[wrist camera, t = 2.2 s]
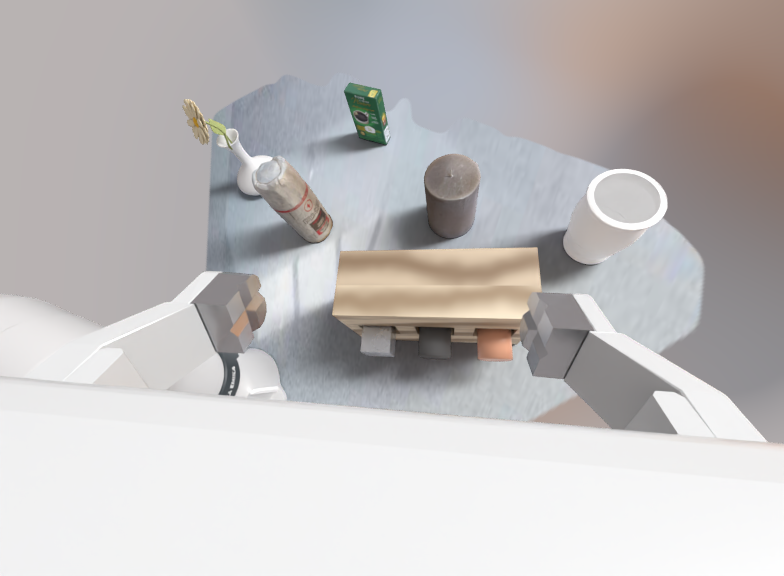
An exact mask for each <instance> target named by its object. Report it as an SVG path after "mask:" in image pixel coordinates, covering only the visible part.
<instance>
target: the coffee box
mask: <svg viewBox="0 0 784 576" xmlns="http://www.w3.org/2000/svg"><path fill="white" fill-rule="evenodd" d="M344 93H345V96H346V99H347V102H348V105H349V108H350V111H351V114H352V117H353V120H354V123H355V126H356V129H357V132H358V136H359V138H362V139H365V140H370V141H374V142H377V143H380V144H385V145H387V143H388V141H389V139H390V133H389V127H388V123H387V118H386V112H385V108H384V102H383V97H382V93H381V90H380V89H376V88H371V87H367V86H363V85H358V84H354V83H349V84H348V85H347V87H346V89H345V90H344Z"/></svg>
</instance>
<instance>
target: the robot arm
mask: <svg viewBox="0 0 784 576" xmlns="http://www.w3.org/2000/svg"><path fill="white" fill-rule="evenodd" d="M260 287H261V284H260V281H259V278H258V277H257V276H256V275H254V274H243V273H231V272H218V271H205V272H202V273H201V274H200V275H199V276H198V277H197V278H196V279H195V280H194V281H193V282H192V283H191V284H190V285H189V286H188V287H187V288H186V289H184V290H183V292H181V293H180V294H179V295H178V296H177V297H176V298H175V299H174V300H173V301H172V302H165V303H162V304H160V305H158V306H155V307H153V308H150V309H148V310H145V311H143V312H141V313H138V314H136V315H133V316H131V317H129V318H126V319H124V320H121V321H119V322H116V323H114V324H112V325H109V326H107V327H104V326H102V325H100V324H97V323H95V322H93V321H90V320H88V319H85V318H82V317H79V316H77V315H75V314H73V313H71V312H69V311H66V310H64V309H62V308H60V307H57V306H56V305H53V304H51V303H49V302H46V301H43V300H40V299H35V298H30V297H24V296H18V295H9V294H0V576H784V444H782V443H770V442H767V441H766V440H765V439H764V438H763V436H762V435H761V434H760V433H759V432H758V431H757V430H756V429H755V427H754V426H753V425H752V424H751V423H750V422H749V421H748V420H747V418H746V417H745V416H744V415H743V414H742V413H741V412H740V410H739V409H738V408H737V407H736V406H735V405H734V404H733V402H732V401H731V400H730V399H729V398H728V397H727V396H726V395H725V394H723V393H722V392H720V391H718V390H717V389H715V388H713V387H712V386H710V385H708V384H706V383H705V382H703V381H701V380H700V379H698V378H696V377H695V376H693V375H691V374H690V373H688V372H686V371H685V370H683V369H681V368H680V367H678V366H676V365H675V364H673V363H671V362H670V361H668V360H666V359H665V358H663V357H661V356H660V355H658V354H656V353H655V352H653V351H651V350H650V349H648V348H646V347H645V346H643V345H641V344H640V343H638V342H636V341H635V340H633V339H631V338H630V337H628V336H626V335H625V334H623V333H616V331H615V330H614V328H613V327H612V325H611V324H610V322H609V321H608V320H607V318H606V317H605V315H604V314H603V312H602V311H601V310H600V308H599V307H598V305H597V304H596V302H595V301H594V300H593V298H592V297H591V296H590V295H588V294H561V293H541V292H532V293H531V295H530V296H529V298H528V301H527V305H528V308H529V311H528V312H526V313H525V314H524V315H523V316H522V320H521V323H520V339H521V342H522V346H523V347H524V348H526V349H527V350H528V351H529V352H528V355H527V361H528V364H529V367H530V369H531V372H532V375H533V376H537V377H547V378H557V379H564V381H565V382H566V383H567V384H568V385H569V386H570V387H571V388H572V389H573V390H574V391H575V392H576V393H577V394H578V395H579V396H580V397H581V398H582V399H583V400H584V401H585V402H586V403H587V404H588V405H589V406H590V407H591V408H592V409H593V410H594V411H595V412H596V413H597V414H598V415H599V416H600V417H601V418H602V419H603V420H604V421H605V422H606V423H607V424H608V425H609V426H610V427H611V428H612V429H608V428H597V427H585V426H574V425H562V424H550V423H539V422H528V421H516V420H505V419H493V418H482V417H470V416H458V415H447V414H435V413H424V412H412V411H401V410H389V409H378V408H366V407H355V406H343V405H332V404H320V403H308V402H297V401H287V396H286V393H285V391H284V389H283V388H282V386H281V383H280V377H279V371H278V368H277V365H276V363H275V361H274V360H273V358H272V357H271V356H270V355H269V354H267V353H266V352H264V351H262V350H259V349H254V348H249V349H247V348H248V347H249V345H250V343H251V342H252V340H253V338H254V335H253V331H255V330H256V329H258V328H260V327H261V325H262V324H263V322H264V320H265V316H266V302H265V298H264V297H263V296H262V295H261V294H260V293H259V292H258V291H259V289H260Z"/></svg>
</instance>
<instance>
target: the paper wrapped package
mask: <svg viewBox="0 0 784 576" xmlns="http://www.w3.org/2000/svg"><path fill="white" fill-rule="evenodd" d="M252 183H253V187H254V188H255V190H256V191H257V192H258V193H259V194H260V195H261V196H262V197H263V198H264V199H265V200H266V201H267V202H268V204H269V205H270V206H271V207H272V208H273V209H274V210H275V211H276V212H277V213H278V214H279V215H280V216H281V218H283V219H284V220H285V221H286V222H287V223H288V224H289V225H290V226H291V227H292V228H293V229H294V230H295V231H296V232H297V233H298V234H299V235H300V236H302V238H303V239H304V240H306V241H308V242H310V243H311V242H312V243H313V242H314V243H315V242H321V241H323V240H324V239H325V238H326V237H327V236H328V235H329V233H330V231H331V228H332V226H333V221H332V219H331V217H330V215H329V214H327V212H326V210H325V208H324V207H323V206H322V204H321V203H320V202H319V200H318V199H317V197H316V195H315V194H314V193H313V191H312V190H311V189H310V187H309V186H308V185H307V184H306V182H305V181H304V180H303V179H302V178H301V176H300V175H299V174H298V172H297V171H296V170H295V169H294V168H293V167H292V166H291V165H290V164H289V163H288V162H287V161H286V160H285V159H284V158H283V157H282V156H277V157H274V158H273V159H272V160H271V161H268V162H264V163H262V164H261V165H260V166H259V167H258V169H256V170H254V172H253V173H252Z"/></svg>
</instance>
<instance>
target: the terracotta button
mask: <svg viewBox="0 0 784 576" xmlns="http://www.w3.org/2000/svg"><path fill="white" fill-rule="evenodd" d="M477 350H478V359H479V360H483V361H511V360H513V356H512V339H511V329H487V328H477Z"/></svg>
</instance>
